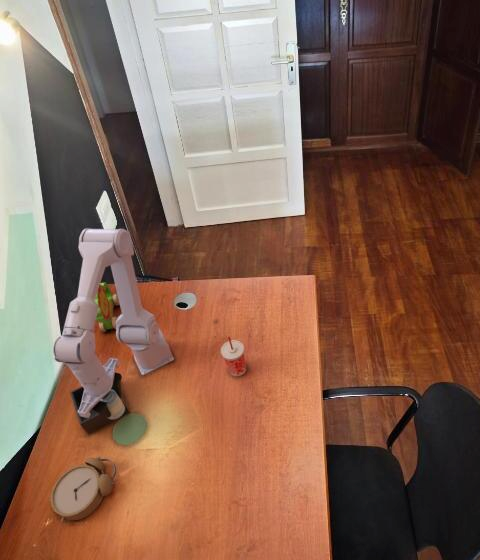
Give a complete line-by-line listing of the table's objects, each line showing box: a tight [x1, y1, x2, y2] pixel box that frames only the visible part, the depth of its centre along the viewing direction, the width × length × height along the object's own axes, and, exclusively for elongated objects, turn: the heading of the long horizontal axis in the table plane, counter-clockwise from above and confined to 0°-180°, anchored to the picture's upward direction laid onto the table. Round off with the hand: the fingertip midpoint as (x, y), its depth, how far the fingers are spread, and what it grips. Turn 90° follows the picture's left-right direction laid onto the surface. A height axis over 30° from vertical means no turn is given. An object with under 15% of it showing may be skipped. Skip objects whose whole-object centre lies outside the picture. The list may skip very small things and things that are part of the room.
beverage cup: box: [220, 336, 247, 377], centre depth 126 cm, size 6×6×14 cm
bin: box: [69, 385, 130, 435], centre depth 124 cm, size 11×11×5 cm
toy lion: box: [95, 282, 120, 333], centre depth 143 cm, size 16×5×15 cm, turn 12°
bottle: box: [100, 389, 125, 420], centre depth 113 cm, size 5×5×9 cm
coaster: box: [112, 412, 148, 446], centre depth 121 cm, size 9×9×1 cm
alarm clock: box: [48, 456, 118, 524], centre depth 110 cm, size 11×5×15 cm
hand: (112, 405), depth 115 cm, fingers closed on bottle, 5 cm apart
